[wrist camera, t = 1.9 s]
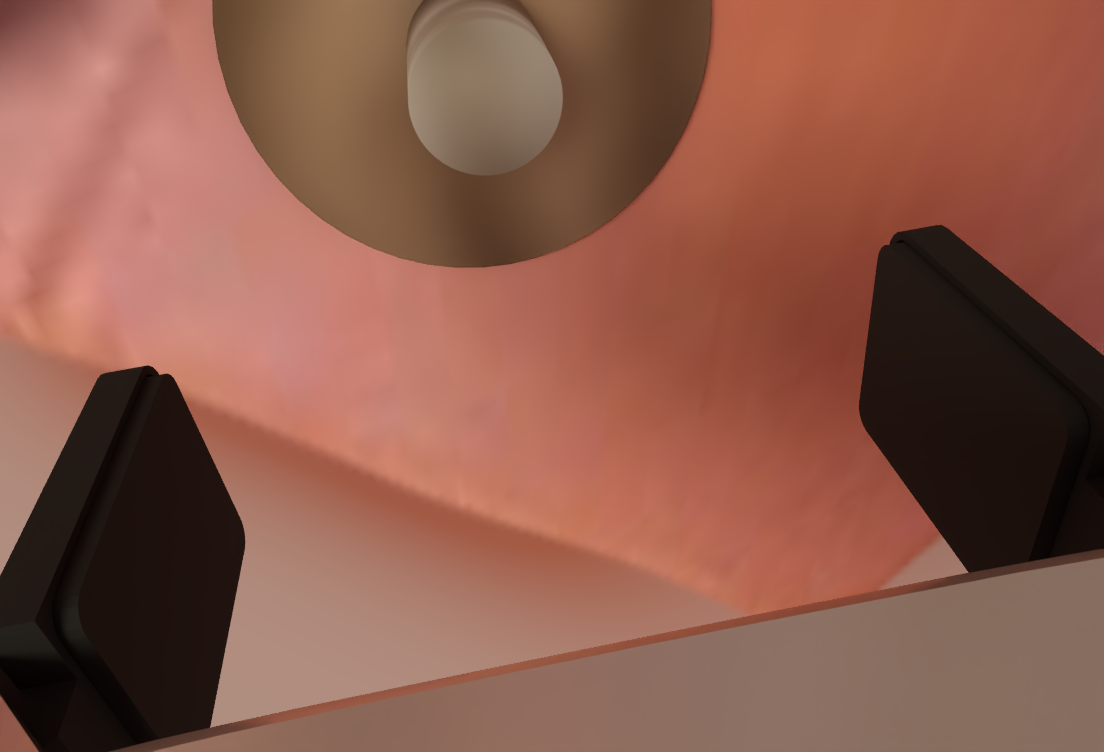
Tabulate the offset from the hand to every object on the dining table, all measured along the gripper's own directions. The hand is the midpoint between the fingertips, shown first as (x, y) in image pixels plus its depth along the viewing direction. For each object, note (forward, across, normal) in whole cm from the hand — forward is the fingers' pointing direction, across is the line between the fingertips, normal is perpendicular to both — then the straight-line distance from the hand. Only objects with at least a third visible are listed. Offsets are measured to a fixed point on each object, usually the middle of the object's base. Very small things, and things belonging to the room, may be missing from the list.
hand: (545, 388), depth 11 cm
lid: (+19, 0, 0) cm, 19 cm away
